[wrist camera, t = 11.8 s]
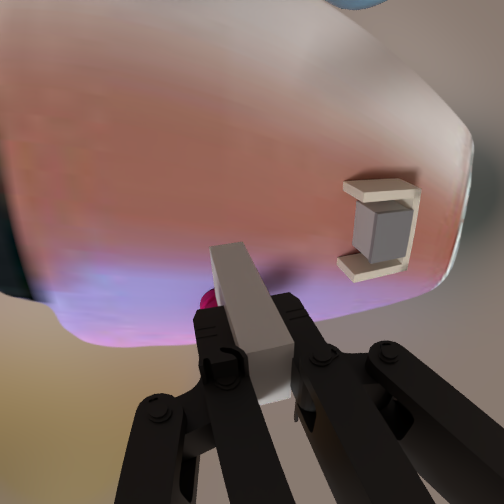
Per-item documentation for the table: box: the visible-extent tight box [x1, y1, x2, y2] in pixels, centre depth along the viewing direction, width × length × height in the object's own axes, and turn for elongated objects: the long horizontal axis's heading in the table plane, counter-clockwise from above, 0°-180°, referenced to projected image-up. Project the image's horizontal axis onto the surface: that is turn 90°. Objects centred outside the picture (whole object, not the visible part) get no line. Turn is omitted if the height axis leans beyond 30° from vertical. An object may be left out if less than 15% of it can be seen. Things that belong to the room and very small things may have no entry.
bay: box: [337, 178, 421, 283], centre depth 49 cm, size 15×12×6 cm
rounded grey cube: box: [352, 200, 414, 264], centre depth 49 cm, size 8×7×7 cm
